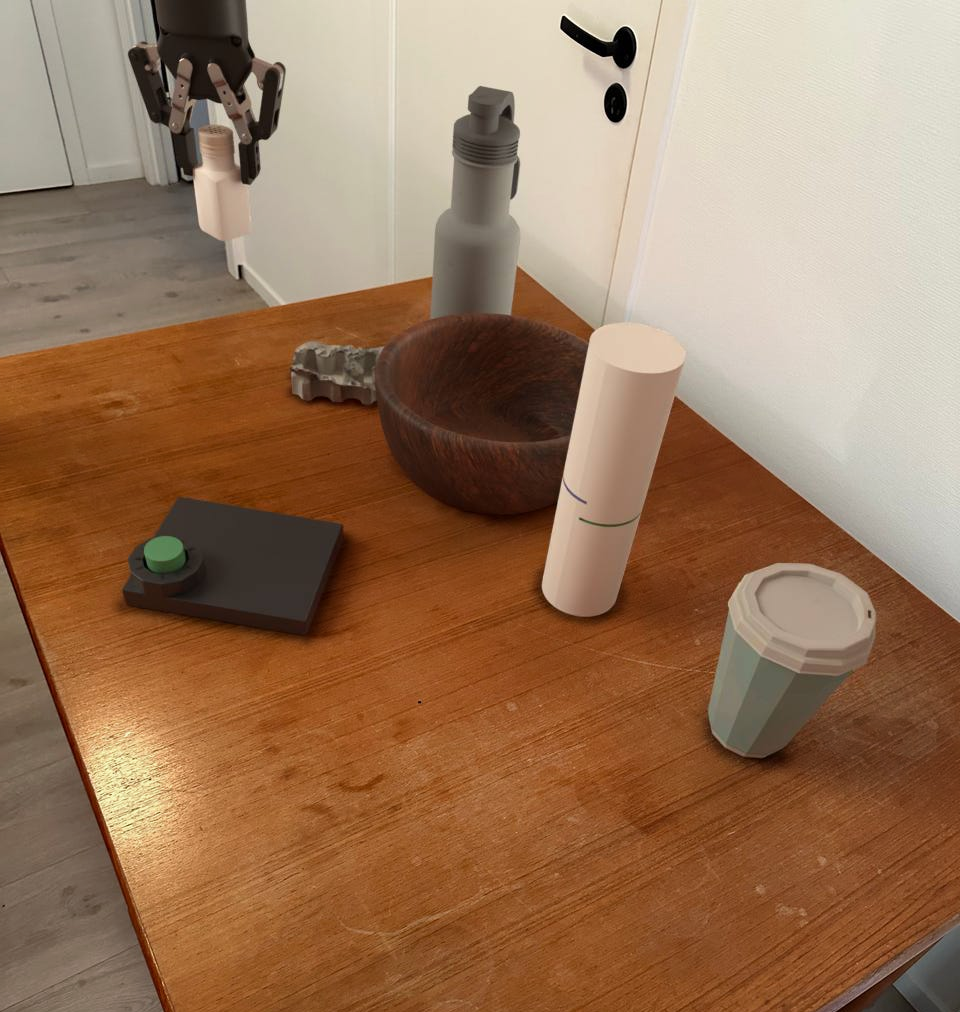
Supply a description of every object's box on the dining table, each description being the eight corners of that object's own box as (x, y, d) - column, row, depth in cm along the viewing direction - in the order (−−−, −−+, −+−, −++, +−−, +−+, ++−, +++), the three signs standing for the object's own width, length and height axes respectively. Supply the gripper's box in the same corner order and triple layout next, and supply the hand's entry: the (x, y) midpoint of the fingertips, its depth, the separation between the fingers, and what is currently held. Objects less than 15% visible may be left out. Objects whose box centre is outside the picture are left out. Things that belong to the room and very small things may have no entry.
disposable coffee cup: (675, 758, 72) (731, 632, 61) (690, 663, 79) (742, 534, 68) (807, 795, 71) (888, 672, 60) (810, 694, 78) (883, 569, 67)
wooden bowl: (595, 554, 88) (616, 469, 80) (346, 508, 89) (344, 420, 81) (612, 414, 105) (631, 333, 97) (403, 377, 106) (406, 294, 98)
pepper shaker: (197, 230, 90) (183, 127, 84) (229, 220, 93) (219, 119, 86) (222, 245, 89) (211, 141, 82) (254, 234, 91) (246, 133, 84)
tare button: (141, 570, 76) (137, 557, 75) (155, 546, 79) (152, 533, 77) (177, 577, 76) (174, 563, 75) (191, 552, 78) (188, 539, 77)
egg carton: (287, 400, 101) (284, 368, 98) (298, 365, 106) (295, 333, 103) (382, 409, 101) (382, 376, 98) (388, 373, 106) (388, 341, 103)
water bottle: (442, 316, 116) (458, 70, 96) (515, 332, 115) (547, 87, 95) (418, 354, 110) (430, 99, 89) (495, 371, 109) (525, 117, 88)
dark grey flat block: (124, 605, 78) (116, 576, 75) (180, 511, 87) (174, 482, 84) (306, 636, 77) (303, 608, 75) (343, 538, 86) (342, 510, 83)
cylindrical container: (576, 553, 88) (630, 313, 69) (632, 593, 85) (705, 353, 66) (526, 585, 84) (569, 340, 66) (583, 628, 81) (645, 384, 62)
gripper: (293, -34, 77) (302, 174, 89) (129, -60, 77) (161, 152, 90) (268, -15, 72) (281, 204, 84) (92, -42, 72) (132, 180, 84)
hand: (219, 176), depth 87 cm, fingers closed on pepper shaker, 5 cm apart
